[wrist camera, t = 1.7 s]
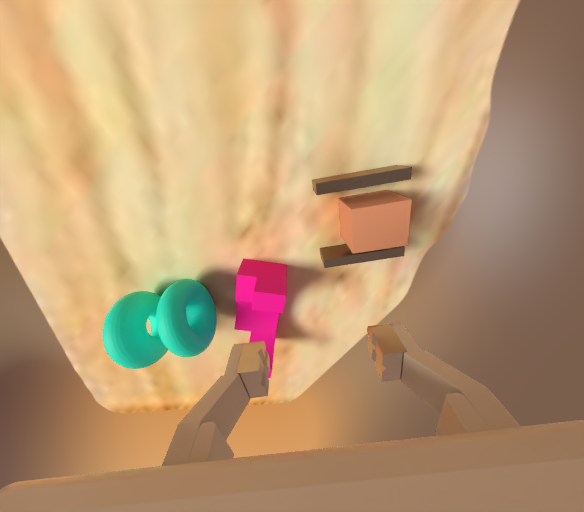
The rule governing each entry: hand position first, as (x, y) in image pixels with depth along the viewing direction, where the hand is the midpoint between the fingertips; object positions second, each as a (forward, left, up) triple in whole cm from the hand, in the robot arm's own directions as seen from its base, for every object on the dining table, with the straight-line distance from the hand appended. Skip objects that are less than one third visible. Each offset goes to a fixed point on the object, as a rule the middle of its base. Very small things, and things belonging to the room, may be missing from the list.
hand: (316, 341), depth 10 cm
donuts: (+9, -19, -19) cm, 29 cm away
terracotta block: (0, +9, -19) cm, 21 cm away
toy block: (+12, -8, -20) cm, 24 cm away
